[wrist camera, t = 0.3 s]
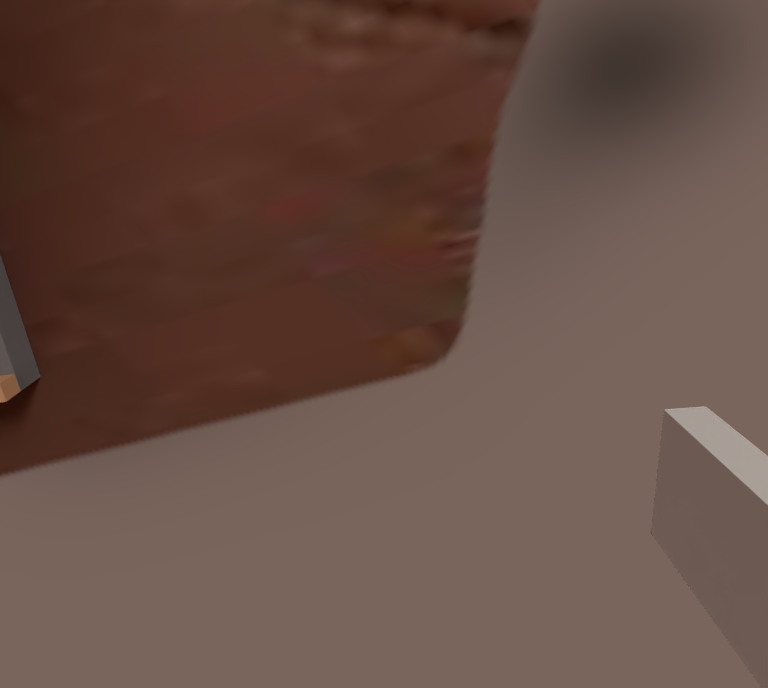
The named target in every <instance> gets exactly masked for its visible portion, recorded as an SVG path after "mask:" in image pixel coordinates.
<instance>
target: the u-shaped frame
mask: <svg viewBox="0 0 768 688" xmlns="http://www.w3.org/2000/svg"><path fill="white" fill-rule="evenodd" d="M39 377H41V376H40V373H39V370H38V367H37V364H36V361H35V358H34V355H33V352H32V349H31V346H30V343H29V340H28V337H27V334H26V331H25V328H24V325H23V322H22V319H21V316H20V313H19V309H18V306H17V303H16V300H15V297H14V294H13V291H12V288H11V285H10V282H9V279H8V276H7V273H6V270H5V267H4V264H3V261H2V258H1V255H0V402H7V401H8V400H9V399H11V398H12V397H13V396H15V395H16V394H18V393H19V392H20V391H22V390H23V389H24V388H26V387H27V386H29V385H30V384H31V383H33V382H34V381H35V380H37V379H38V378H39Z"/></svg>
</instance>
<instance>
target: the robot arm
mask: <svg viewBox="0 0 768 688" xmlns="http://www.w3.org/2000/svg"><path fill="white" fill-rule="evenodd" d="M651 534H652V536H653V537H654V538H655V540H656V541H657V542H658V544H659V545H660V547H661V548H662V549H663V551H664V552H665V553H666V555H667V556H668V558H669V559H670V561H671V562H672V563H673V565H674V566H675V568H676V569H677V570H678V572H679V573H680V575H681V576H682V577H683V579H684V580H685V581H686V583H687V584H688V586H689V587H690V589H691V590H692V591H693V593H694V594H695V595H696V597H697V598H698V600H699V601H700V603H701V604H702V605H703V607H704V608H705V610H706V611H707V612H708V614H709V615H710V617H711V618H712V619H713V621H714V622H715V624H716V625H717V626H718V628H719V629H720V630H721V632H722V633H723V635H724V636H725V638H726V639H727V640H728V642H729V643H730V645H731V646H732V647H733V649H734V650H735V652H736V653H737V654H738V656H739V657H740V658H741V660H742V661H743V663H744V664H745V666H746V667H747V668H748V670H749V671H750V673H751V674H752V675H753V677H754V678H755V680H756V681H757V682H758V684H759V685H760V687H761V688H768V456H767V455H765V454H764V453H763V452H762V451H761V450H759V449H758V448H757V447H756V446H754V445H753V444H752V443H751V442H749V441H748V440H747V439H746V438H744V437H743V436H742V435H741V434H739V433H738V432H737V431H735V430H734V429H733V428H732V427H731V426H729V425H728V424H727V423H726V422H724V421H723V420H722V419H720V418H719V417H718V416H717V415H716V414H714V413H713V412H712V411H711V410H709V409H708V408H707V407H691V408H680V409H665V410H664V415H663V424H662V433H661V442H660V452H659V461H658V470H657V479H656V489H655V498H654V507H653V517H652V526H651Z"/></svg>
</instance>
